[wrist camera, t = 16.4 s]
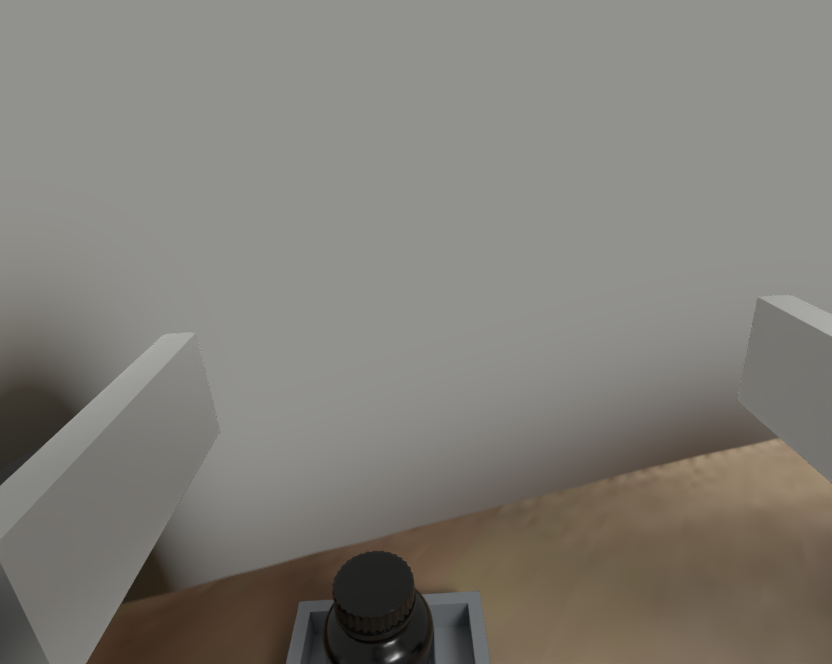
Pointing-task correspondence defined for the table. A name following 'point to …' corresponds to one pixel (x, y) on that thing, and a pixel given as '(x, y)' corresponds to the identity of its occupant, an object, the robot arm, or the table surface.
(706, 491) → the table surface
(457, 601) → the tray
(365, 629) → the supplement bottle
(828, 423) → the robot arm
